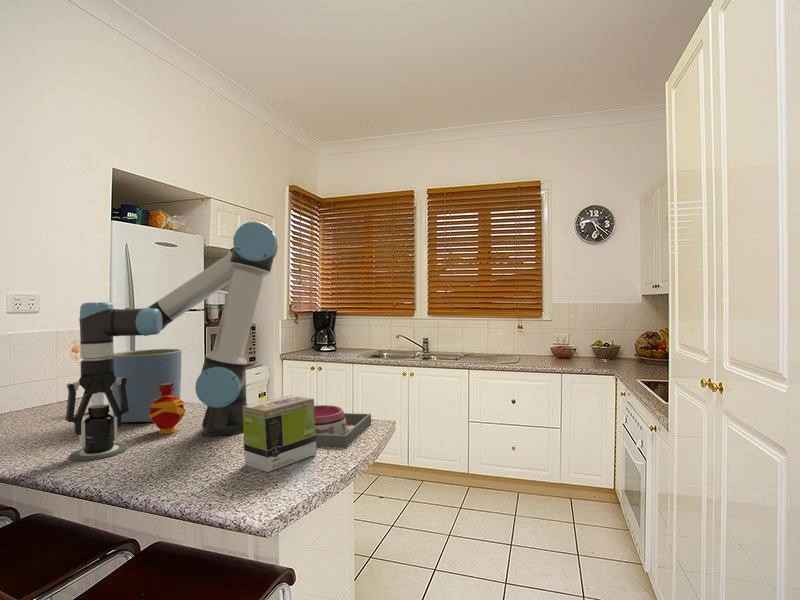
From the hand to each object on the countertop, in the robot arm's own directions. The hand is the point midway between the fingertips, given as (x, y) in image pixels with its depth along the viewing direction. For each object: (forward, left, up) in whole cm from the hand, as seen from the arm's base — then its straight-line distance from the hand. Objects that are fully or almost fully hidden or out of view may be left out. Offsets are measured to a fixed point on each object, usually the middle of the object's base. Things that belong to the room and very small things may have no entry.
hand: (98, 442), depth 122 cm
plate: (0, 0, -3) cm, 3 cm away
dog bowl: (-53, -27, -3) cm, 59 cm away
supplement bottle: (0, 0, -2) cm, 2 cm away
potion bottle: (-4, -21, -3) cm, 22 cm away
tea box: (-53, -2, -3) cm, 53 cm away
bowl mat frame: (-54, -26, -3) cm, 60 cm away
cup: (+44, -42, -3) cm, 61 cm away
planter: (+17, -36, -3) cm, 40 cm away
